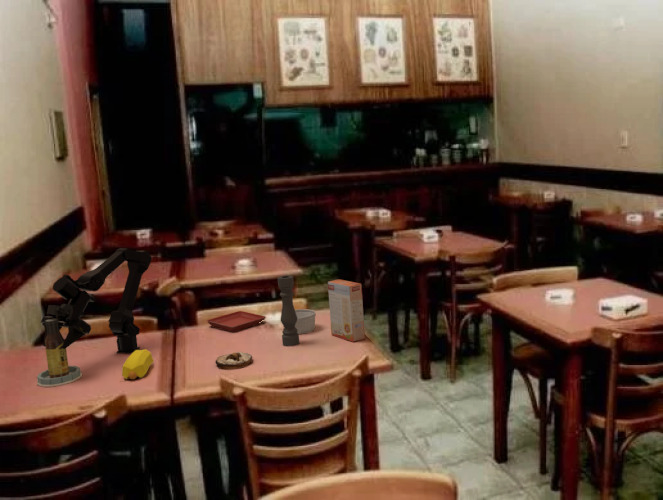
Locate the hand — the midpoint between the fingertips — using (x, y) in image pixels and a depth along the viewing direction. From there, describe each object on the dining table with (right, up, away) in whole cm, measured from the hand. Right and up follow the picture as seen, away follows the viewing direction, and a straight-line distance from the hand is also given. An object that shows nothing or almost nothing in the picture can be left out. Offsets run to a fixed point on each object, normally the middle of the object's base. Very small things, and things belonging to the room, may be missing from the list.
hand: (53, 347), depth 213 cm
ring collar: (+1, -11, +2) cm, 11 cm away
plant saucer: (+53, +1, +54) cm, 76 cm away
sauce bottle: (+1, -11, +2) cm, 11 cm away
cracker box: (+98, 0, +26) cm, 102 cm away
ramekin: (+80, 0, +40) cm, 89 cm away
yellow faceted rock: (+27, -9, +4) cm, 29 cm away
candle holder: (+77, -2, +23) cm, 81 cm away
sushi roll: (+59, -7, +6) cm, 60 cm away
